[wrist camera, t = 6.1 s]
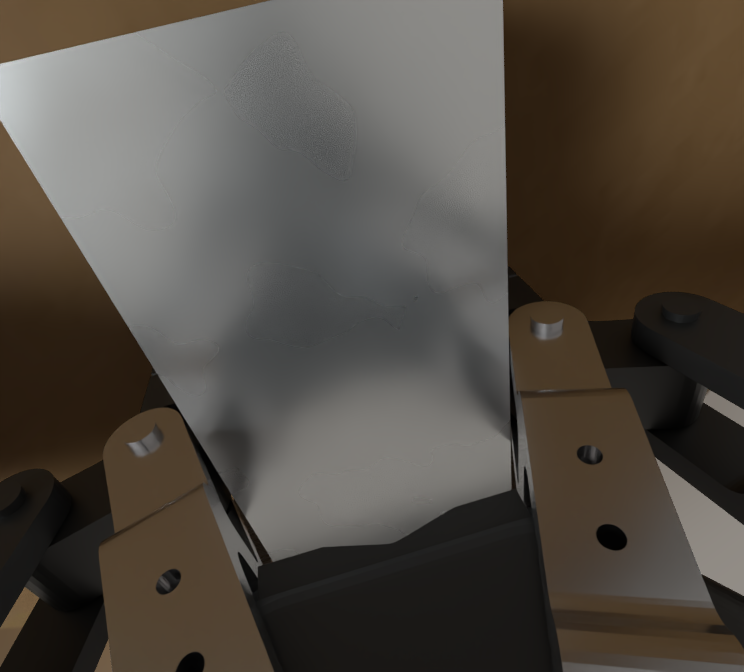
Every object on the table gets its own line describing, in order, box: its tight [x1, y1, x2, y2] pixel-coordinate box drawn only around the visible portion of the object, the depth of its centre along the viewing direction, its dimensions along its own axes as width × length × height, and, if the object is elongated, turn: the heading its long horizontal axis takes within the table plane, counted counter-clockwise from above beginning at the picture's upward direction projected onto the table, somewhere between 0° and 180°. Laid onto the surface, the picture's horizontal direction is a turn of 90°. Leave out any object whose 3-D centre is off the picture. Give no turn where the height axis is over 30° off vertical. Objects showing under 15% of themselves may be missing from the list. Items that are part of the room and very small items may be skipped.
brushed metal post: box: [0, 0, 511, 562], centre depth 12 cm, size 18×5×5 cm, turn 11°
